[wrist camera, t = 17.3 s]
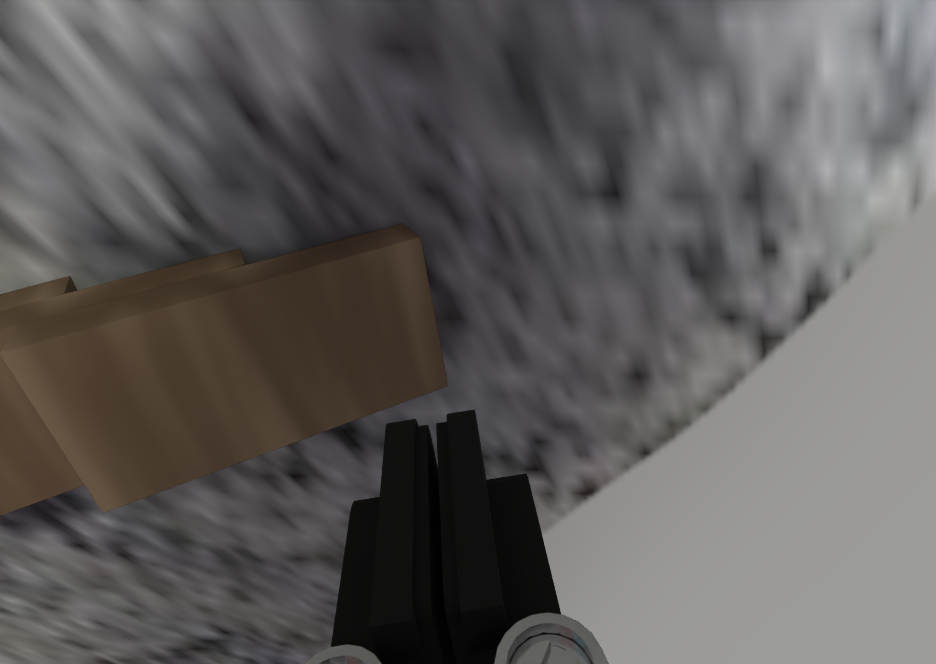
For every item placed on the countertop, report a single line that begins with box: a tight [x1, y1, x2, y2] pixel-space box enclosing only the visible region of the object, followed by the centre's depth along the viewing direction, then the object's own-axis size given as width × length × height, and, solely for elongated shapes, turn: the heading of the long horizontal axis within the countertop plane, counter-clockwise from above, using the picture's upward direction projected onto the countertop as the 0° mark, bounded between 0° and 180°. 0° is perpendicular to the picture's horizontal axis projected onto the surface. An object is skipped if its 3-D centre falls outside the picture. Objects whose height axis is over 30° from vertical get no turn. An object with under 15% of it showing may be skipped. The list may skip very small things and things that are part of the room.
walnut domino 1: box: [0, 248, 246, 516], centre depth 15 cm, size 2×5×10 cm
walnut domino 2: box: [0, 224, 448, 513], centre depth 16 cm, size 2×5×10 cm
